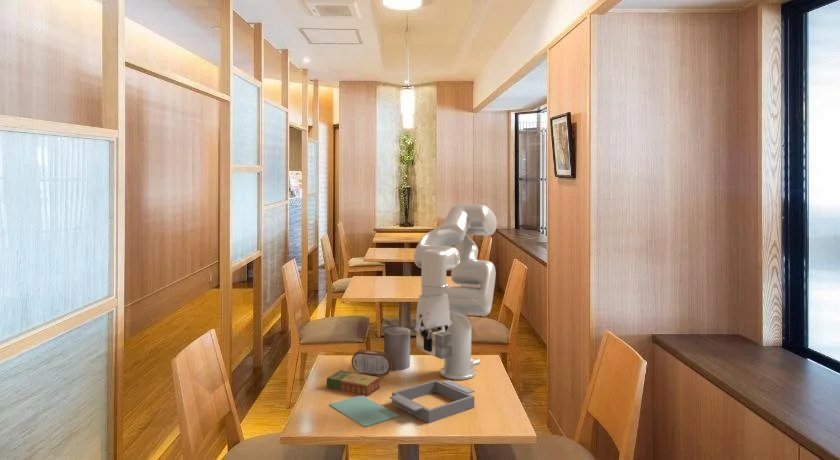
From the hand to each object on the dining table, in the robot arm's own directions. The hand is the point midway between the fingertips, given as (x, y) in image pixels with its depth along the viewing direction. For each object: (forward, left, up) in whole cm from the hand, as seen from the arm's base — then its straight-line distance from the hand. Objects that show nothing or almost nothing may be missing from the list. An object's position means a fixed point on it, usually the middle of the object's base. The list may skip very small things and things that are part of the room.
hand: (433, 348), depth 175 cm
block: (0, 0, -1) cm, 1 cm away
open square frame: (0, 0, -18) cm, 18 cm away
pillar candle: (-13, -36, -18) cm, 42 cm away
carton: (+12, -27, -18) cm, 35 cm away
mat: (+19, -10, -18) cm, 28 cm away
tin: (-1, -35, -18) cm, 39 cm away
